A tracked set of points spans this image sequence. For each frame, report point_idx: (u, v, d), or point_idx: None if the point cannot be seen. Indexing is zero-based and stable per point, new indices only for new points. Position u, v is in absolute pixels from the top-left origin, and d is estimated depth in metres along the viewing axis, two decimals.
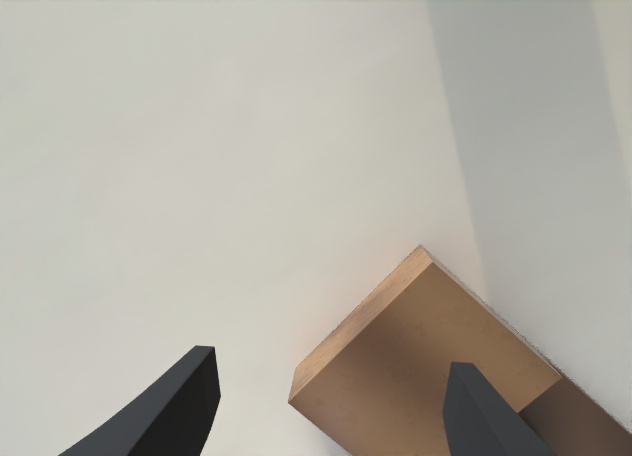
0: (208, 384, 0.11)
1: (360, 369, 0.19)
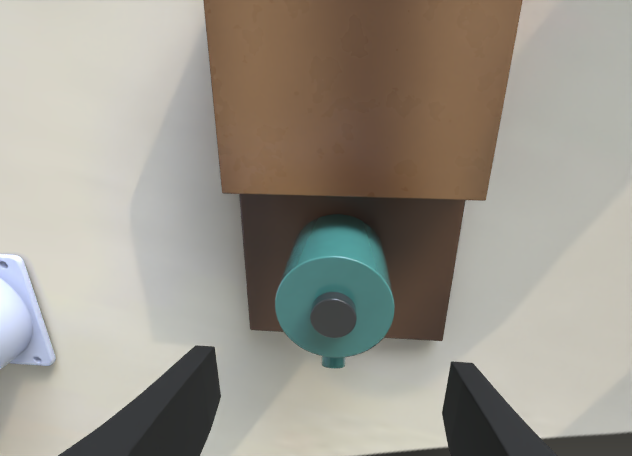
0: (208, 384, 0.11)
1: None
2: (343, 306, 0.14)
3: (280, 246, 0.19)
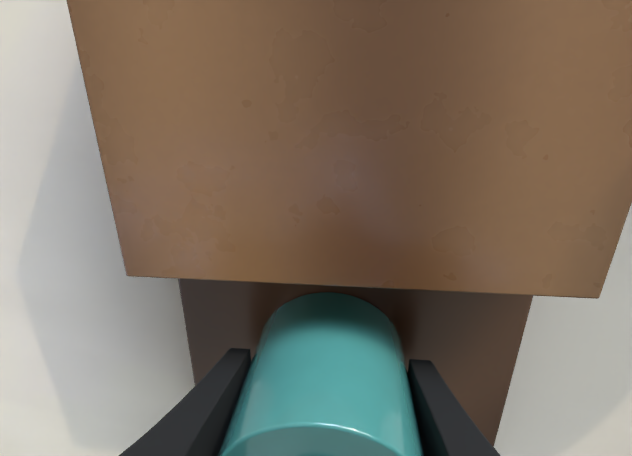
0: None
1: None
2: None
3: (243, 336, 0.12)
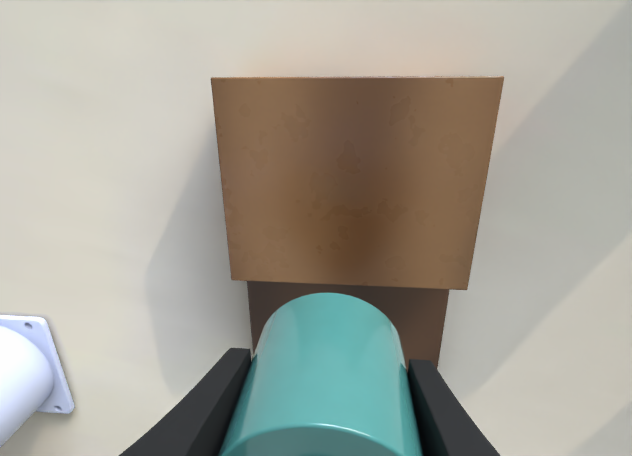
0: None
1: (320, 117, 0.14)
2: None
3: None
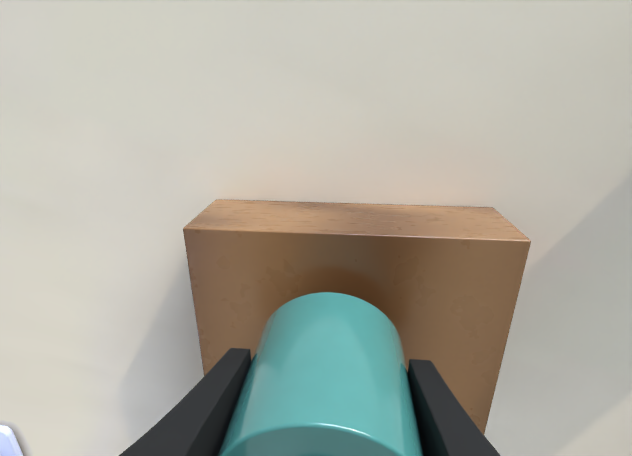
0: None
1: (311, 273, 0.12)
2: None
3: None
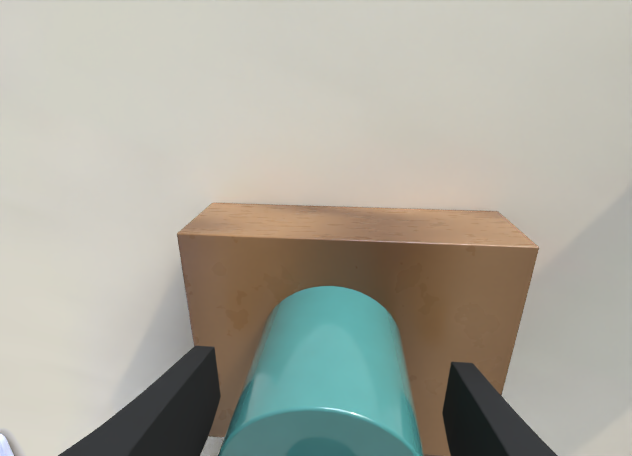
0: (208, 384, 0.11)
1: (310, 280, 0.12)
2: None
3: None
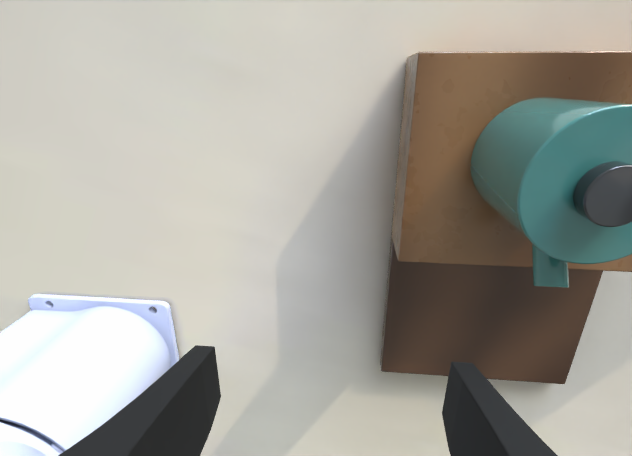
0: (208, 384, 0.11)
1: (526, 94, 0.14)
2: None
3: (423, 299, 0.21)
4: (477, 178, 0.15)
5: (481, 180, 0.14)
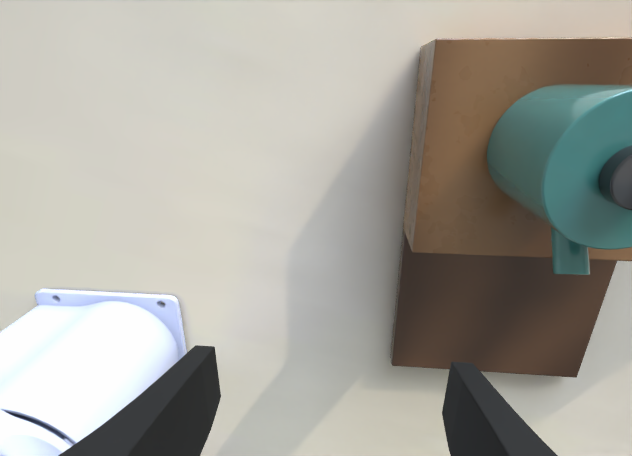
0: (208, 384, 0.11)
1: (544, 81, 0.14)
2: None
3: (435, 292, 0.21)
4: (494, 166, 0.14)
5: (499, 168, 0.14)
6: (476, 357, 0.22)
